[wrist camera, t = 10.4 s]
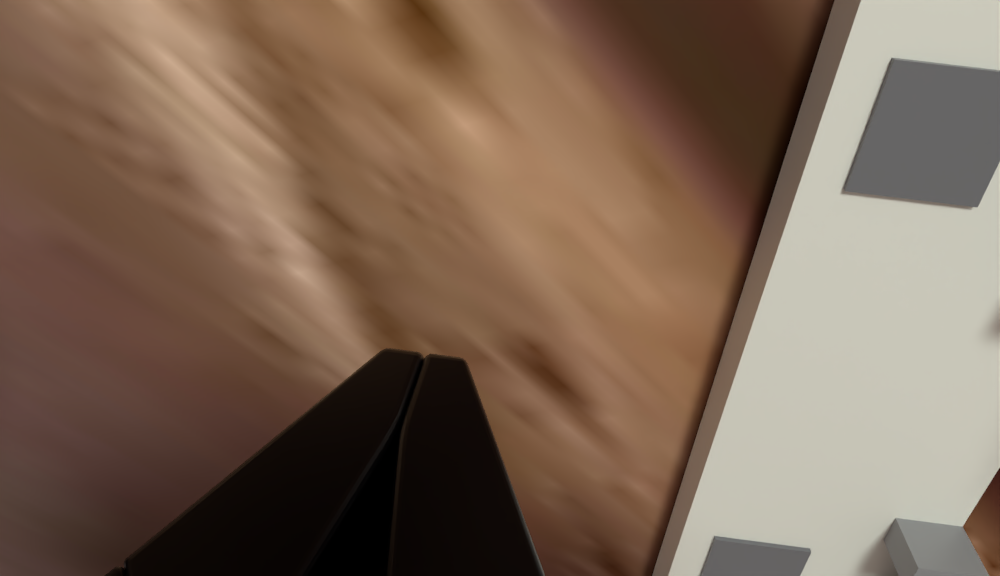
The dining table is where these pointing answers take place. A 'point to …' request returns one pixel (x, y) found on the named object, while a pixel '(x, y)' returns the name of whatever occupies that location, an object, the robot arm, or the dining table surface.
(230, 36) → the dining table surface
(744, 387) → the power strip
